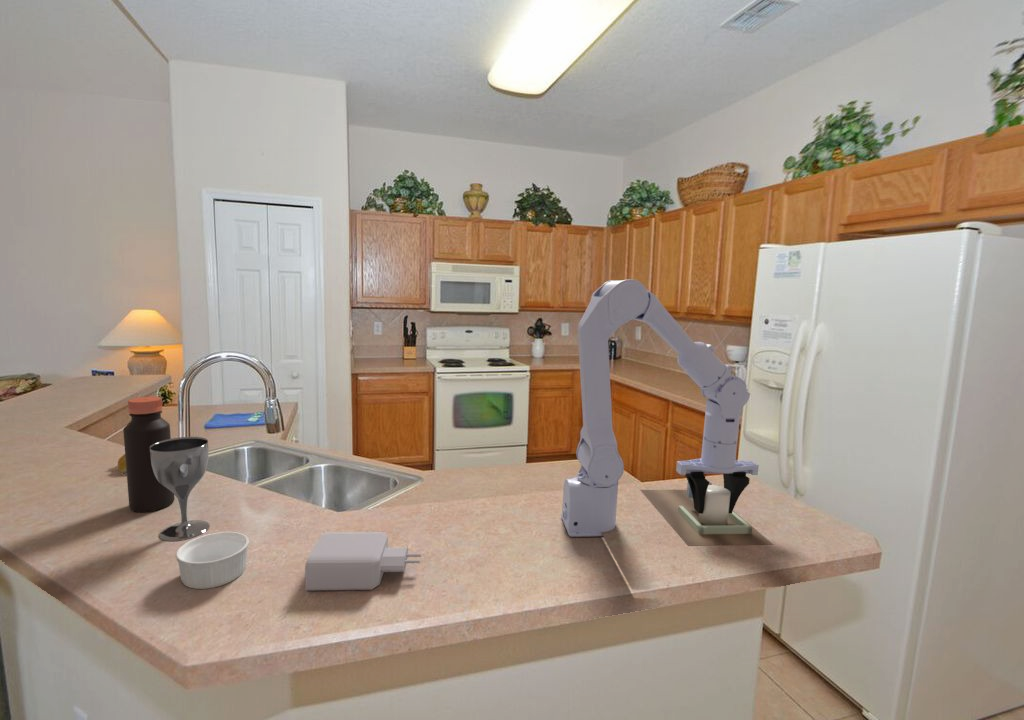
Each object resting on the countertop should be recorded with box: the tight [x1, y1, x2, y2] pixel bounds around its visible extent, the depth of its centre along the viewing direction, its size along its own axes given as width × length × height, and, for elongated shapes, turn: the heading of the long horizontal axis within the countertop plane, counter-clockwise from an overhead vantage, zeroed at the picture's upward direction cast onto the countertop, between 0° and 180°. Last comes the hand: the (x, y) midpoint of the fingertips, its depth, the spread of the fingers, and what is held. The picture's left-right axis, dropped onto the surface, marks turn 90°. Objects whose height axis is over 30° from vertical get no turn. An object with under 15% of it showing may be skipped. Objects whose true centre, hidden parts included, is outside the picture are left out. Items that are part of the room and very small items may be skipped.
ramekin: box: [175, 531, 250, 590], centre depth 71 cm, size 9×9×4 cm
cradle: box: [678, 506, 753, 534], centre depth 91 cm, size 10×9×1 cm
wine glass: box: [150, 436, 211, 542], centre depth 82 cm, size 8×8×15 cm
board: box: [640, 489, 774, 547], centre depth 94 cm, size 15×23×1 cm, turn 5°
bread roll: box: [117, 453, 127, 474], centre depth 110 cm, size 8×9×4 cm
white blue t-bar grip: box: [686, 480, 731, 526], centre depth 93 cm, size 9×5×6 cm, turn 4°
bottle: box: [123, 396, 175, 513], centre depth 90 cm, size 7×7×20 cm
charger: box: [304, 531, 422, 591], centre depth 72 cm, size 5×9×15 cm
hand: (713, 511), depth 91 cm, fingers closed on white blue t-bar grip, 5 cm apart
